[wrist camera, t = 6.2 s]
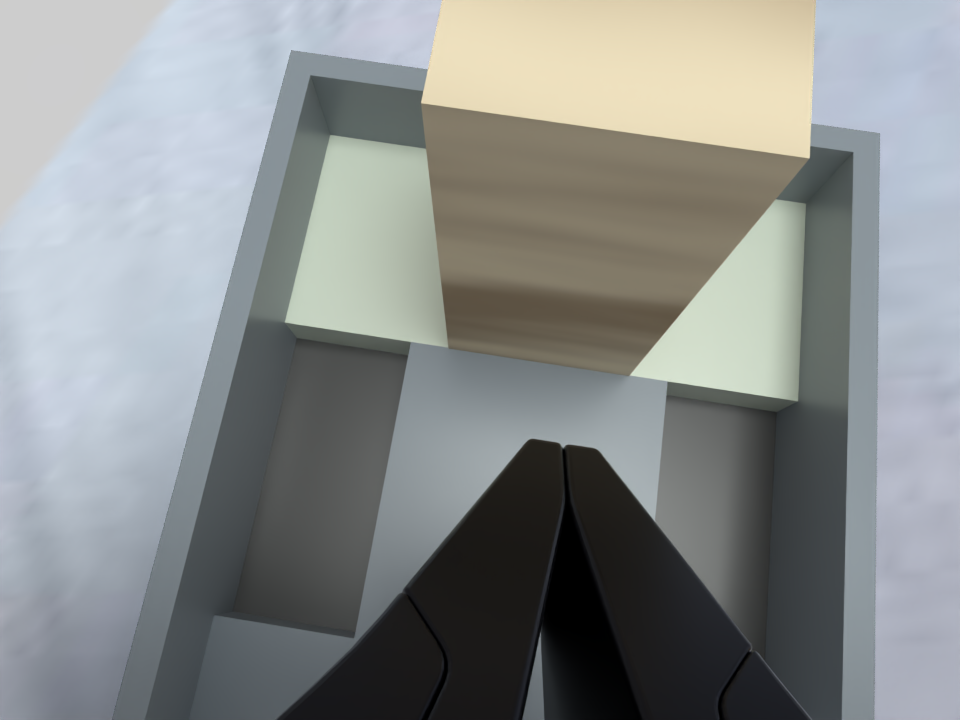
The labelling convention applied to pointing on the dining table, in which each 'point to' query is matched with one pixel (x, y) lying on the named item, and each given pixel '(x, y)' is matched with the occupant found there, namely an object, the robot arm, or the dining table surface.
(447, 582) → the robot arm
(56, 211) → the dining table surface
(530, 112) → the maple post
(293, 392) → the box
